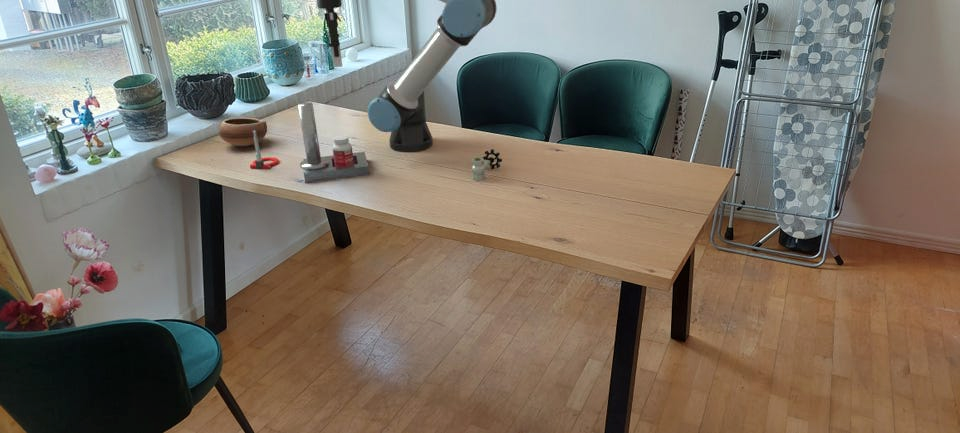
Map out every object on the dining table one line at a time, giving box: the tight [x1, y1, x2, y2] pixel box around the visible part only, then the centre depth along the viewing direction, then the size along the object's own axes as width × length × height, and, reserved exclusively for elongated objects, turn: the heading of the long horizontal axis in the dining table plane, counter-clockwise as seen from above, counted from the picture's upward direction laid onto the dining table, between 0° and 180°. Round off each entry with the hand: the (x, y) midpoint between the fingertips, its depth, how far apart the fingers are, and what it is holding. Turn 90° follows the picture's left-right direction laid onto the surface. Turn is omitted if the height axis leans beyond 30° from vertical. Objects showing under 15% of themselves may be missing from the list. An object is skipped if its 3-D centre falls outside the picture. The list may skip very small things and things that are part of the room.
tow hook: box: [249, 131, 280, 169], centre depth 228 cm, size 8×13×9 cm
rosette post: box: [297, 101, 370, 184], centre depth 216 cm, size 21×14×23 cm, turn 103°
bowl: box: [219, 117, 268, 147], centre depth 247 cm, size 16×16×10 cm
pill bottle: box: [332, 135, 354, 167], centre depth 220 cm, size 6×6×11 cm
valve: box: [471, 148, 503, 182], centre depth 212 cm, size 7×7×12 cm
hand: (337, 62), depth 222 cm, fingers open, 13 cm apart
